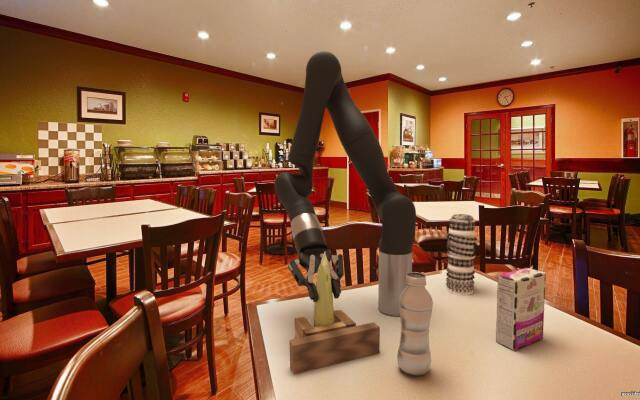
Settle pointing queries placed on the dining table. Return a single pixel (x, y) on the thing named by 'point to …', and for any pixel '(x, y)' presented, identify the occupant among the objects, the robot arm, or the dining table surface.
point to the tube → (323, 296)
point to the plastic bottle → (415, 325)
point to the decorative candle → (461, 254)
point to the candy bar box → (520, 308)
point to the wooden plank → (334, 347)
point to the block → (340, 322)
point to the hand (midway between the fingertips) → (327, 298)
